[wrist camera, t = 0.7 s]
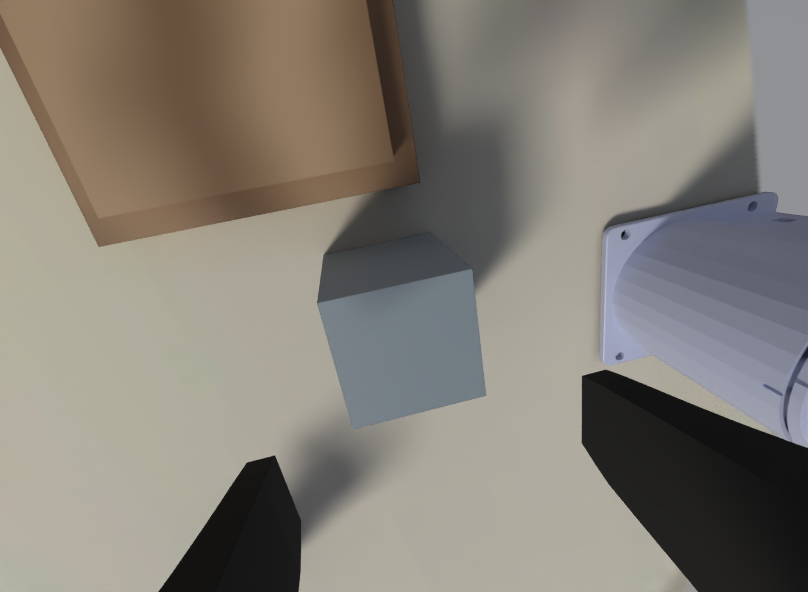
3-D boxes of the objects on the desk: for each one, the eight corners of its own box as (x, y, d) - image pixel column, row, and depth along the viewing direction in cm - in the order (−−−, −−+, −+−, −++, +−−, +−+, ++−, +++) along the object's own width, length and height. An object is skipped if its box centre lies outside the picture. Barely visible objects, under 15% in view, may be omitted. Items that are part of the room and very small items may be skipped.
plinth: (348, -207, 12) (352, -313, 9) (410, 179, 17) (425, 184, 14) (-57, -165, 11) (-189, -271, 8) (127, 235, 16) (81, 253, 13)
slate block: (429, 232, 18) (472, 268, 12) (443, 326, 20) (486, 395, 14) (323, 254, 17) (317, 303, 12) (348, 349, 19) (353, 429, 14)
